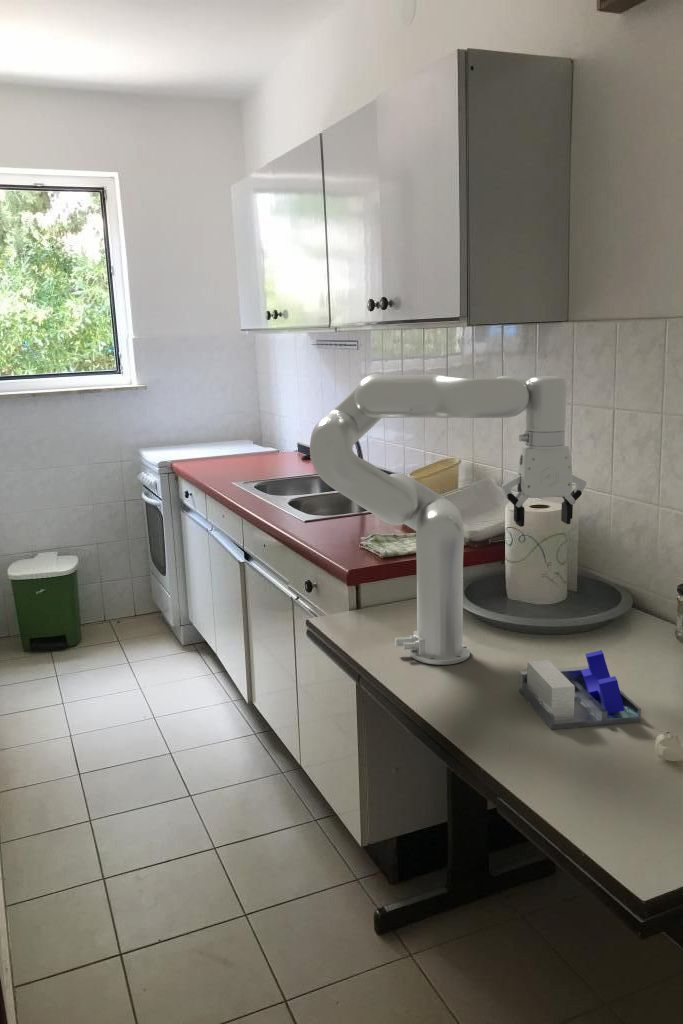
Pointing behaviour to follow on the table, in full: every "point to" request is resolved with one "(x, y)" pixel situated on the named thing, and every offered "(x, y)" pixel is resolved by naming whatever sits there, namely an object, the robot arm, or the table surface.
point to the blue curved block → (602, 683)
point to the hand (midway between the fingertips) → (542, 524)
